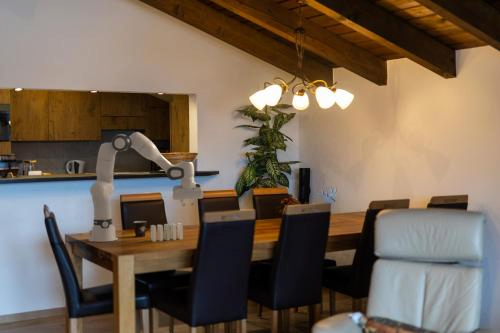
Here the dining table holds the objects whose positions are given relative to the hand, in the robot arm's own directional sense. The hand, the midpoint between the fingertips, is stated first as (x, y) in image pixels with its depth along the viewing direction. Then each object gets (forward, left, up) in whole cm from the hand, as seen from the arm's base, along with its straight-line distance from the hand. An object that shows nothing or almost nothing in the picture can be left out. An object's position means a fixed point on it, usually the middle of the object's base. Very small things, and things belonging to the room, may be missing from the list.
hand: (188, 206), depth 446 cm
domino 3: (0, -15, -21) cm, 26 cm away
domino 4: (0, -11, -21) cm, 24 cm away
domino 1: (0, -24, -21) cm, 32 cm away
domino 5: (0, -6, -21) cm, 22 cm away
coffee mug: (-25, -24, -21) cm, 41 cm away
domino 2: (0, -20, -21) cm, 29 cm away
